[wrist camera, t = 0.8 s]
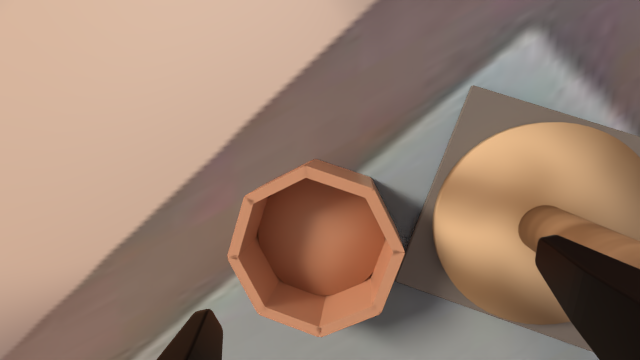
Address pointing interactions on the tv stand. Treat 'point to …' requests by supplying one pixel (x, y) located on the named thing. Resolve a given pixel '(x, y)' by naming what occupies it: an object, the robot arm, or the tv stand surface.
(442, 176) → the rubber mat
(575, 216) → the oak lid
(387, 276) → the terracotta bowl
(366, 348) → the tv stand surface
